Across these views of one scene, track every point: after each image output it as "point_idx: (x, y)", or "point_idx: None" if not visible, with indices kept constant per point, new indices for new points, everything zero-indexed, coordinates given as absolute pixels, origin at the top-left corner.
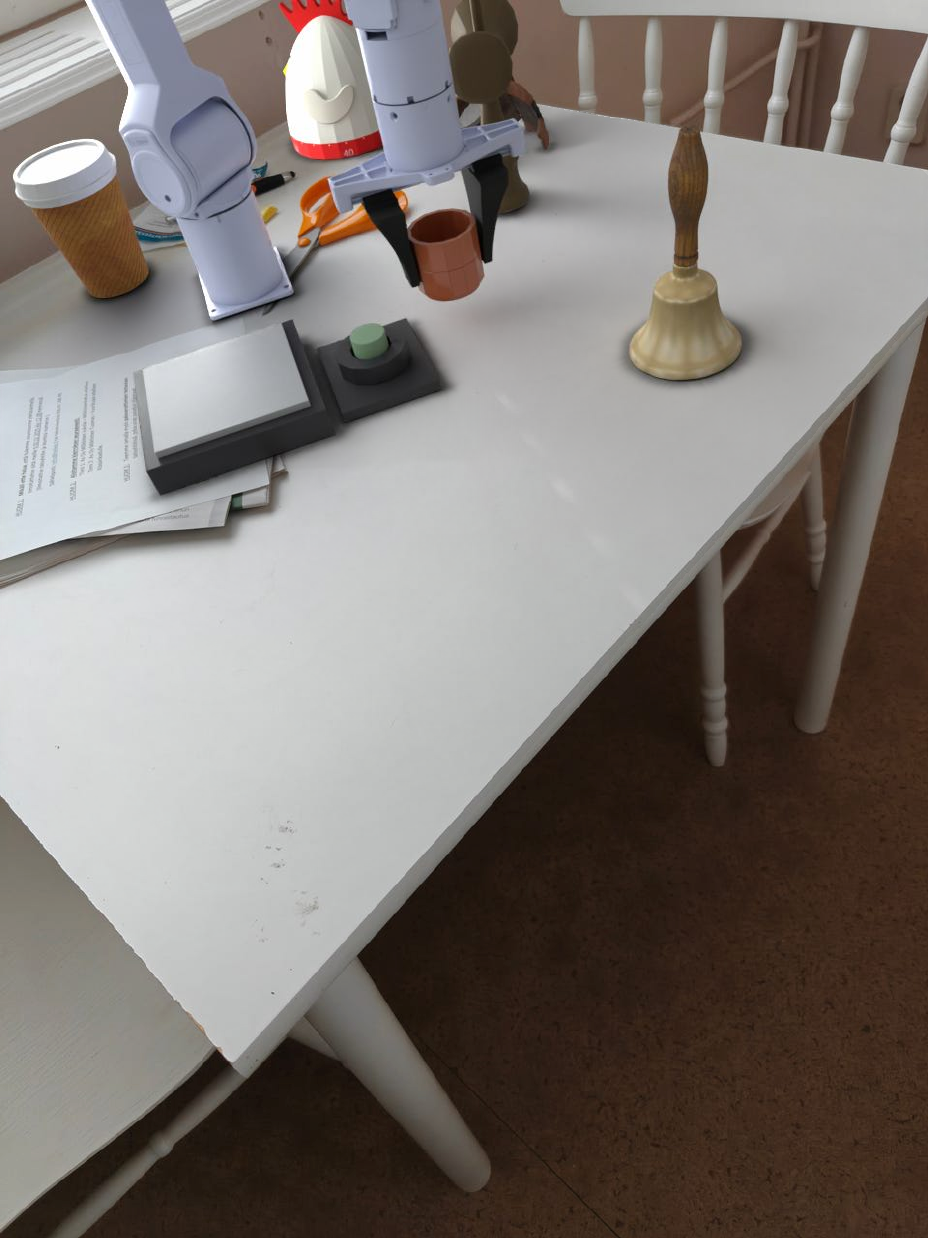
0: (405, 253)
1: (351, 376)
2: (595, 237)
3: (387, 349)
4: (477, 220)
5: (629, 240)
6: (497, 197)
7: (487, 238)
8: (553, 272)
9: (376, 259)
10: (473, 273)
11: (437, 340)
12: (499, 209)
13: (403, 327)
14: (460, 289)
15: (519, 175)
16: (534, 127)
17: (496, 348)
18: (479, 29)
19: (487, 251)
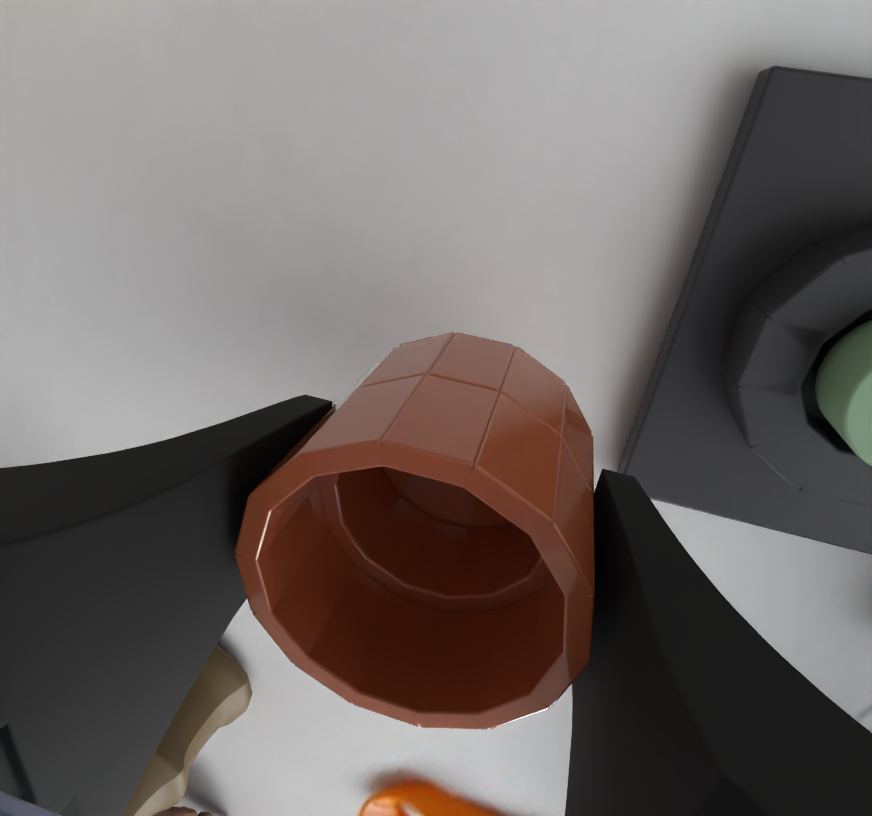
0: (674, 570)
1: None
2: (76, 435)
3: (856, 328)
4: (238, 524)
5: (11, 367)
6: (13, 477)
7: (256, 427)
8: (196, 391)
9: (514, 731)
10: (398, 359)
11: (590, 355)
12: (219, 655)
13: (655, 456)
14: (480, 343)
15: None
16: None
17: (470, 177)
18: None
19: (294, 407)
